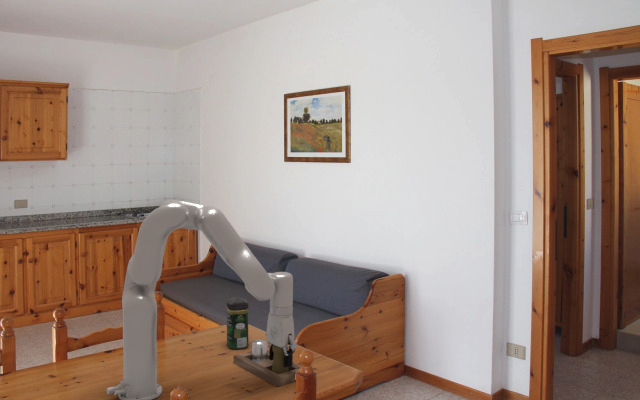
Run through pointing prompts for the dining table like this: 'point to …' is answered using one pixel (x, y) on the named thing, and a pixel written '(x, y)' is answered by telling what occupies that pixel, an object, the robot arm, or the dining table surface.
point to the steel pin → (259, 350)
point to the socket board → (266, 369)
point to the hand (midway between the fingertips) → (280, 362)
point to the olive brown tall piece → (278, 360)
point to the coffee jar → (237, 323)
